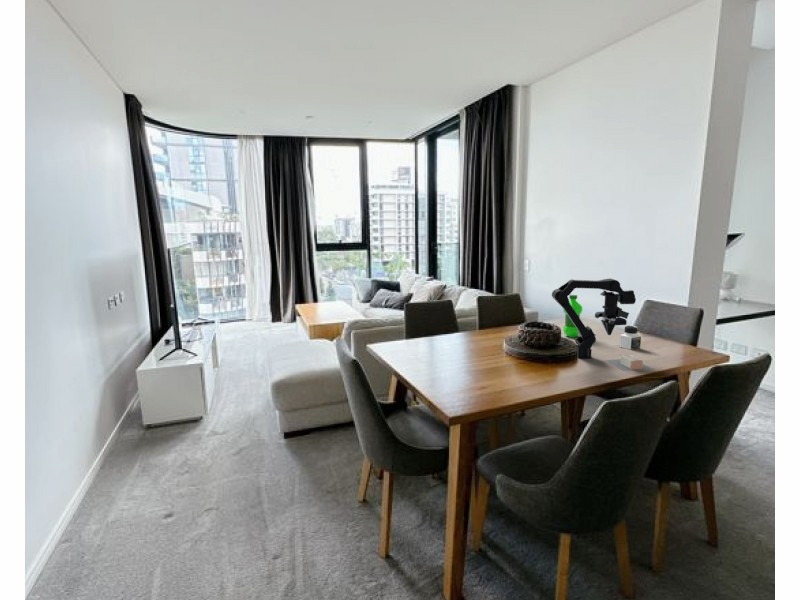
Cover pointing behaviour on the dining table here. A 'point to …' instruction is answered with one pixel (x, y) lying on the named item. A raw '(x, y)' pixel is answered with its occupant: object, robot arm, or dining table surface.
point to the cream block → (631, 362)
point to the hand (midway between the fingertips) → (609, 334)
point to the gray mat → (622, 367)
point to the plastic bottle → (569, 326)
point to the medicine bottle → (630, 338)
